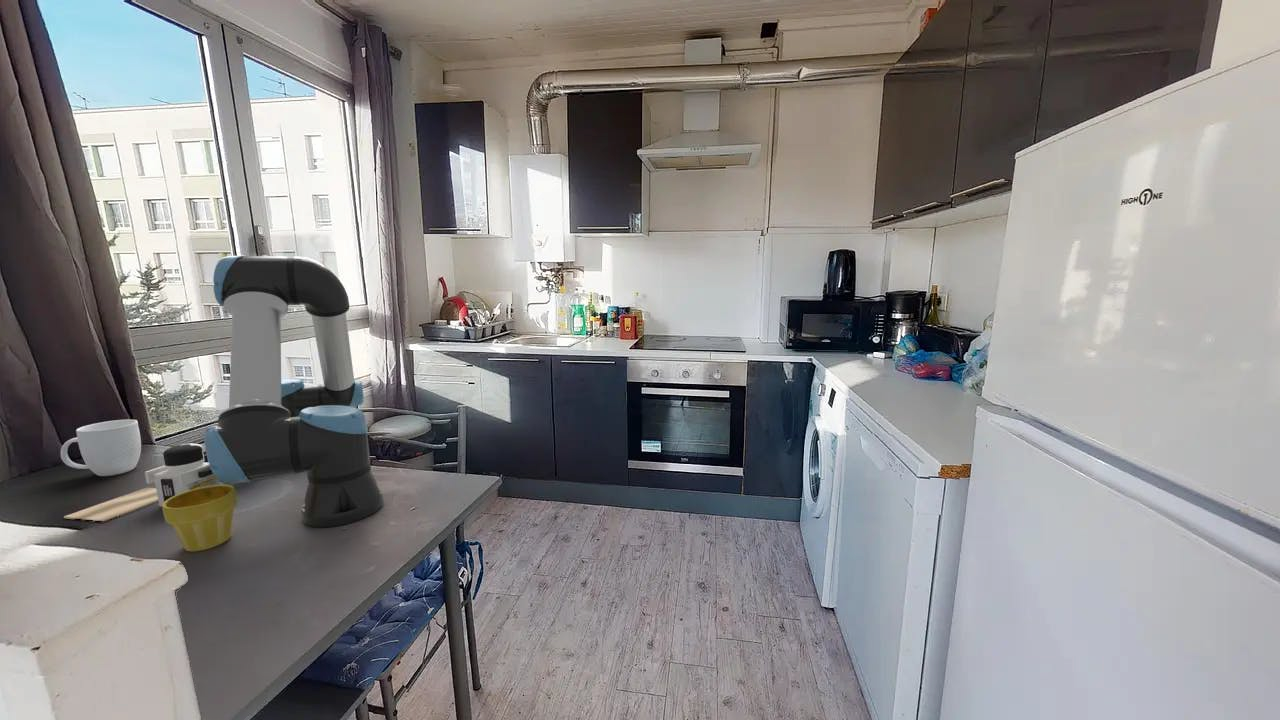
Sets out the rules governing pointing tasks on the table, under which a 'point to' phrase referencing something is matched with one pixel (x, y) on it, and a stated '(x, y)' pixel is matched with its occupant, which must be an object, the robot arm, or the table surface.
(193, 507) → the plant pot
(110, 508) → the wooden board
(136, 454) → the mug
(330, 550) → the table surface
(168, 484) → the container
